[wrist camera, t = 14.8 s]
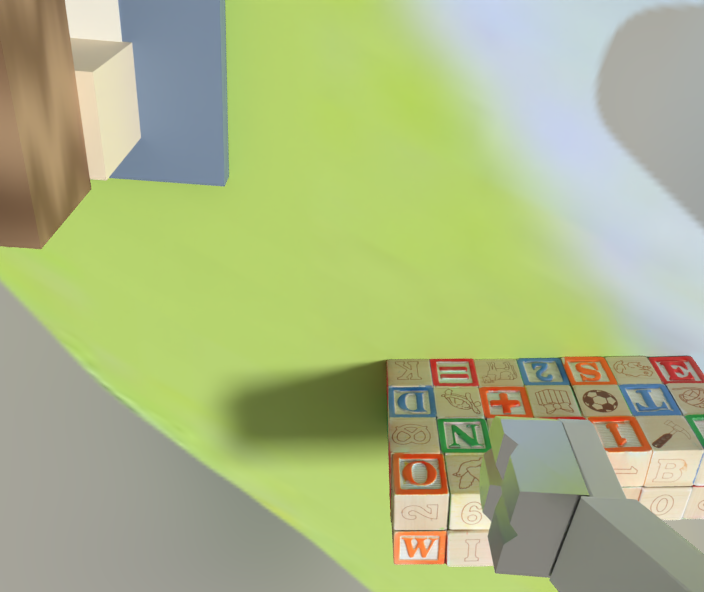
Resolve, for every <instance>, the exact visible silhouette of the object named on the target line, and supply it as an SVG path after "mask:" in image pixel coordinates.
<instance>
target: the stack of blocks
mask: <svg viewBox="0 0 704 592" xmlns="http://www.w3.org/2000/svg"><path fill="white" fill-rule="evenodd" d="M495 416H508V417H526V418H545V419H556V420H557V419H578V420H589V421H590V422H591V423H593V424H594V426H595V429H596V431H597V433H598V435H599V437H600V440H601V442H602V444H603V446H604V449H605V451H606V453H607V455H608V458H609V460H610V462H611V464H612V467H613V469H614V471H615V473H616V476H617V478H618V480H619V482H620V485H621V487H622V489H623V491H624V494H625V496H626V498H627V499H636V500H637V501H639V502H640V503H641V504H642V505H644V506H645V507H646V508H647V509H649V510H650V511H651V512H652V513H654V514H655V515H656V516H657V517H659V518H660V519H661V520H680V519H704V374H703V373H702V371H701V370H700V368H699V366H698V365H697V364H696V362H695V361H694V359H693V358H692V357H691V356H679V357H649V358H647V357H645V356H614V357H605V358H604V357H562V358H519V359H477V360H473V359H389V360H387V436H388V456H389V484H390V509H391V512H390V516H391V523H392V539H393V558H394V564H396V565H397V564H444V563H446V564H447V566H450V567H464V566H494V565H493V560H492V556H491V551H490V546H489V541H488V537H487V536H488V533H489V529H490V525H491V521H490V520H489V519H488V518H487V517H486V515H485V514H484V513H483V511H482V506H481V501H480V490H479V481H480V468H481V463H482V459H483V454H485V453H486V452H487V451H488V450H490V449H491V448H492V447H491V443H490V438H489V431H490V427H491V423H492V421H493V419H494V418H495Z"/></svg>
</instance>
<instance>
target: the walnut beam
mask: <svg viewBox="0 0 704 592" xmlns="http://www.w3.org/2000/svg"><path fill="white" fill-rule="evenodd" d="M90 190H91V183H90V176H89V169H88V162H87V155H86V148H85V140H84V133H83V126H82V119H81V112H80V105H79V98H78V91H77V83H76V76H75V69H74V62H73V55H72V48H71V41H70V34H69V26H68V19H67V12H66V5H65V0H0V246H5V247H19V248H33V249H42V247H43V246H44V245H45V244H46V243H47V241H48V240H49V239H50V238H51V237H52V235H53V234H54V233H55V232H56V231H57V230H58V228H59V227H60V226H61V225H62V224H63V222H64V221H65V220H66V219H67V218H68V216H69V215H70V214H71V213H72V212H73V210H74V209H75V208H76V207H77V206H78V204H79V203H80V202H81V201H82V200H83V198H84V197H85V196H86V195H87V194H88V192H89V191H90Z"/></svg>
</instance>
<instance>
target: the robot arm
mask: <svg viewBox="0 0 704 592" xmlns="http://www.w3.org/2000/svg"><path fill="white" fill-rule="evenodd" d="M489 438H490V443H491V447H492V448H491V449H490V450H488V451H487V452H486V453H485V454H483V459H482V463H481V468H480V481H479V490H480V501H481V506H482V511H483V513H484V514H485V515H486V517H487V518H488V519H489V520H490V521H491V525H490V529H489V533H488V536H487V537H488V541H489V546H490V551H491V556H492V560H493V565H494V570H495V573H499V574H511V575H524V576H537V577H549V578H550V582H551V583H552V584H553V585H554V586H555V588H556V589H557V590H558V591H559V592H704V554H703V553H702V552H701V551H700V550H698V549H697V548H696V547H695V546H693V545H692V544H691V543H689V542H688V541H687V540H686V539H685V538H683V537H682V536H681V535H680V534H678V533H677V532H676V531H675V530H673V529H672V528H671V527H670V526H669V525H667V524H666V523H665V522H664V521H662V520H661V519H660V518H659V517H657V516H656V515H655V514H654V513H652V512H651V511H650V510H649V509H647V508H646V507H645V506H644V505H642V504H641V503H640V502H639V501H637V500H636V499H627V498H626V496H625V494H624V491H623V489H622V487H621V485H620V482H619V480H618V478H617V476H616V473H615V471H614V469H613V467H612V464H611V462H610V460H609V458H608V455H607V453H606V451H605V449H604V446H603V444H602V442H601V440H600V437H599V435H598V433H597V431H596V429H595V426H594V424H593V423H591V422H590V421H589V420H578V419H557V420H556V419H545V418H526V417H508V416H495V418H494V419H493V421H492V423H491V427H490V431H489Z"/></svg>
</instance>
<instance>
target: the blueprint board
mask: <svg viewBox="0 0 704 592" xmlns="http://www.w3.org/2000/svg"><path fill="white" fill-rule="evenodd" d="M65 5H66V12H67V19H68V26H69V34H70V41H71V48H72V55H73V62H74V69H75V76H76V83H77V91H78V98H79V105H80V112H81V119H82V126H83V133H84V140H85V148H86V155H87V162H88V169H89V176H90V179H95V180H107V179H108V178H119V179H133V180H146V181H160V182H173V183H187V184H200V185H214V186H225V184H226V182H227V179H228V177H229V161H228V115H227V70H226V24H225V0H65Z"/></svg>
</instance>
